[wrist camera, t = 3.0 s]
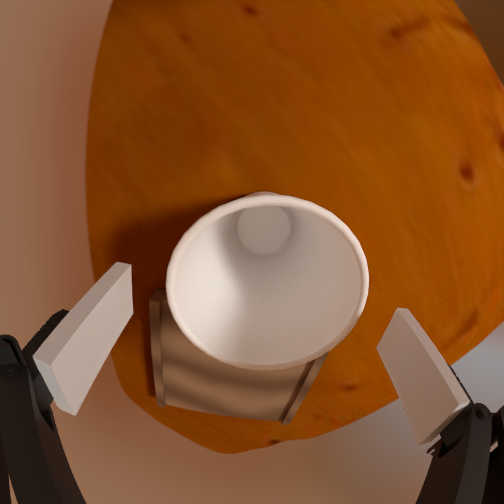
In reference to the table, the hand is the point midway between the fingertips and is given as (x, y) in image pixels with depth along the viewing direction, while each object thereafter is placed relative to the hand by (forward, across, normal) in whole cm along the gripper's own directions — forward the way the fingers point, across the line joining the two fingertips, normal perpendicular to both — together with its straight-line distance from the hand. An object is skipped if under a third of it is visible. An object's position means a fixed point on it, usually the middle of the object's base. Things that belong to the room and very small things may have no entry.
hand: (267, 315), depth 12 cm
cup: (+12, 0, +1) cm, 12 cm away
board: (+12, 0, -16) cm, 20 cm away
